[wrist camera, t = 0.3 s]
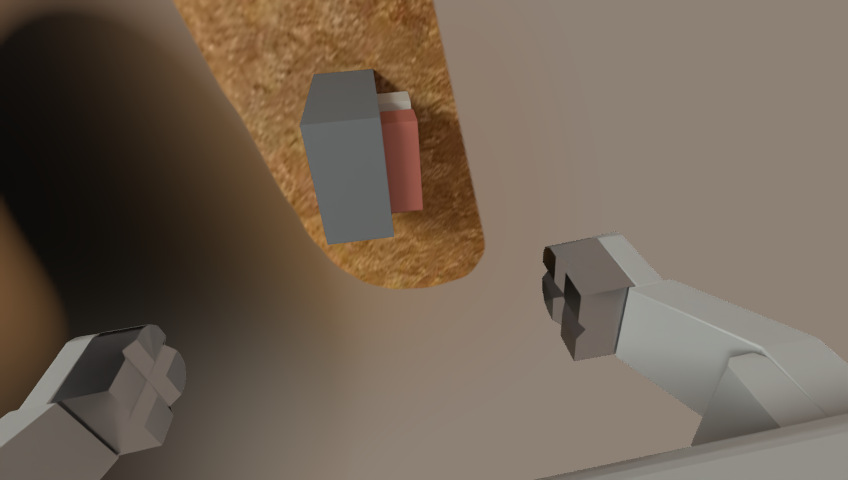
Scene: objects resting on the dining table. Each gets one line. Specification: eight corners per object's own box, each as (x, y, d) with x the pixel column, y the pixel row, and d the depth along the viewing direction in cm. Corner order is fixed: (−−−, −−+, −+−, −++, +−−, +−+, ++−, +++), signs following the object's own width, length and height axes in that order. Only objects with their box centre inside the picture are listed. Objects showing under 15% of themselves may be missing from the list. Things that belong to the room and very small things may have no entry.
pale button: (407, 91, 48) (410, 100, 45) (413, 170, 54) (416, 183, 51) (371, 94, 48) (373, 104, 45) (381, 174, 54) (383, 187, 51)
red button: (413, 108, 43) (417, 120, 40) (419, 194, 49) (423, 209, 46) (374, 112, 43) (375, 124, 40) (384, 198, 49) (386, 213, 46)
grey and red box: (372, 69, 51) (380, 117, 37) (384, 167, 58) (394, 236, 45) (313, 74, 50) (299, 125, 37) (333, 173, 58) (327, 244, 45)
